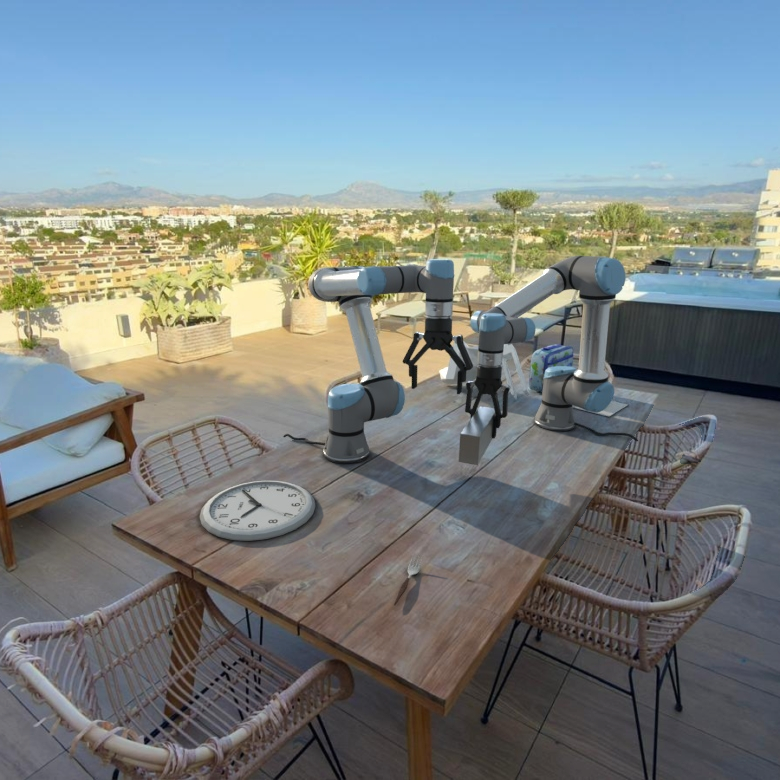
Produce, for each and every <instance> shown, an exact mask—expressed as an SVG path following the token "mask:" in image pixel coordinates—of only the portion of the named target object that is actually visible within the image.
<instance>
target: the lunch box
mask: <svg viewBox="0 0 780 780" xmlns="http://www.w3.org/2000/svg"><path fill="white" fill-rule="evenodd" d="M530 359H531V360H530V366H529V377H528V379H529V380H528V387H529V390H531V391H536V392H541V393H542V391H543V380H544V379H543V378H544V375H545V370H546V369H547V368H549V367H555V366H570V367H573V363H574V347H572V346H568V345H562V344H551V345H547V346H545V347H541V348H539V349H536V350H534V352H533V353H532V355H531V358H530Z"/></svg>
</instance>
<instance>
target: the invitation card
mask: <svg viewBox="0 0 780 780" xmlns="http://www.w3.org/2000/svg"><path fill="white" fill-rule="evenodd" d="M628 406H629V404H627V403H623V402H618V401H614V400H612V401H611V402H610V404H609V405H608V406H607V407H606V408H605V409H604V410H603V411H601V412H592V411H586V410H585V409H582V408H579V407H576V406H574V407H573V409H575V410H581V411H584V412H587V413H593V414H596V415H600V416H604V417H608V418H609V417H611V416H613V415H614V414H616V413H617V412H619V411H621V410H623V409H624V408H626V407H628Z"/></svg>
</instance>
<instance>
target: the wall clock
mask: <svg viewBox="0 0 780 780" xmlns="http://www.w3.org/2000/svg"><path fill="white" fill-rule="evenodd" d="M315 501H316V500H315V498H314V496H313V495H312V493H310V492H309V491H308V490H307V489H305V488H303V487H302V486H300V485H297V484H294V483H291V482H288V481H287V482H286V481H281V480H256V481H249V482H243V483H240V484H236V485H234V486H231V487H228V488H226V489H224V490H221V491H220V492H218V493H216V494H215V495H214V496H212V497H211V498H210V499H208V500H207V501H206V502H205V504H204V505H203V507H201V509H200V514H199V521H200V523H201V526H202V527H203V528H204V529H205V530H206V531H207V532H208V533H209V534H211V535H213V536H216V537H217V538H220V539H221V538H222V539H227V540H230V541H241V542H243V541H244V542H246V541H247V542H251V541H252V542H253V541H261V540H268V539H272V538H277V537H279V536H283V535H286V534H288V533H290V532H293V531H295V530H297V529H298V528H300V527H301V526H303V525H305V524H306V523H307V522H308V521H309V520H310V519H311V518H312V516H313V515H314V513H315V510H316V502H315Z"/></svg>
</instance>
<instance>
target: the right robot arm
mask: <svg viewBox="0 0 780 780" xmlns="http://www.w3.org/2000/svg"><path fill="white" fill-rule="evenodd" d="M625 283H626V269H625V267H624V265H623V263H622V262H621V261H620V260H619V259H617V258H614V257H608V256H593V255H592V256H590V255H573V256H569V257H567V258H564V259H561V260H560V261H557V262H556V263H554V264H552V265H551V266H549V267H547V268H546V269H545V270H543V271H542V273H541V275H540V276H539V277H537V278H536V279H534V280H533V281H531V282H530V283H528V284H527V285H525V286H524V287H522V288H520V289H519V290H517V291H516V292H515V293H513V294H511V295H510V296H508V297H506V298H505V299H504V300H502V301H500V302H499V303H497V304H496V305H495V306H493V307H491V308H489V309H488V310H477V311H475V312H474V313H473V314H471V315H472V316H471V317H470V320H469V323H470V324H469V325H470V328H471V330H472V331H473V332H475V333H477V334H478V345H477V346H478V359H477V363H478V365H477V374H476V379H475V381H468V382H467V383H465V387H466V396H465V397H466V399H465V405H464V412H465V413H467V414H469V415H470V420H471V418H472V417H473V415H474V414H475V413H476V411H477V410H478V409H479V405H480V403H481V400H482V397H483V395H488V396H490V397H491V400H492V405H493V408H494V410H495V414H496V416H495V418H494V421H493V434H492V438H493V439H496V437H497V432H498V431H497V429H500V427H501V422H502V419H506V418H507V416H508V413H509V412H508V409H509V393H510V386H509V385H508V384H507V385H506V384H503V381H502V372H503V367H502V361H503V349H504V344H508V345H510V344H517V343H524V342H528V341H531V340H532V339H533V338H534V337H535V335H536V329H537V328H536V323H535V322H534V320H533V319H532V318H530V317H528V316H527V317H523V315H524V314H526V313H527V312H529V311H531V310H532V309H533V308H534V307H536V306H538V305H539V304H541V303H542V302H544V301H545V300H546V299H549V298H550V297H551V296H553V295H559V294H561V293H562V292H564V291H569V290H575V291H579V292H578V299H579V300H580V301H581V302H582V313H581V314H582V315H581V327H580V328H581V329H580V330H581V331H580V343H579V344H580V345H579V355H578V356H579V357H578V368H577V367H574V366H572V367H570V366H555V367H549V368H547V369H546V370H545V375H544V378H543V379H544V380H543V391H542V392H541V402H540V405H539V407H538V410H537V411H536V413H535V417H534V424H535V425H536V426H537V427H539V428H542V429H544V430H549V431H556V432H567V431H572V430H574V429H575V428H576V426H577V427H579V428H582V429H584V430H587V431H590V432H592V433H593V434H595V435H597V436H600V437H601V436H602V437H603V436H604V437H605V436H624V437H625V436H626V437H629V438H631V439H633V440H634V441H635V442H639V439H638V438H637V437H636V436H635V435H633V434H631V433H627V432H612V431H611V432H608V431H607V432H599V431H596V430H595V429H594V428H591V427H589V426H586V425H584V424H581V423H577V422H576V418H575V417H576V416H575V413H574V407H579V408H582V409H585V410H586V411H585V412H588V411H592V412H601V411H603V410H604V409H605V408H606V407H607V406H608V405H609V404H610V402H611V401H613V398H614V396H615V387H614V385H613V383H611V382H610V381H609V373H608V372H607V371H606V370H605V368H606V367H605V365H606V355H607V344H608V343H607V342H608V333H609V332H608V331H609V320H610V310H611V303H612V302H613V301H614V300H616V298H617V297H616V296H617V295H618V294H620V293H621V292H622V291H623V287H624V286H625V285H626V284H625ZM475 387H476V388H477V390H478V392H477V395H476V397H475V400H474V403H473V405H472V401H473V399H472V398H473V389H474V388H475ZM500 389H501V392H502V409H501V406H500V402H499V397H498V391H499V390H500ZM471 406H472V407H471ZM573 406H574V407H573ZM592 412H591V413H592ZM470 420H469V421H470Z"/></svg>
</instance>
